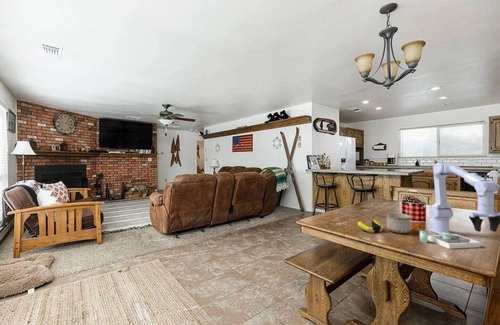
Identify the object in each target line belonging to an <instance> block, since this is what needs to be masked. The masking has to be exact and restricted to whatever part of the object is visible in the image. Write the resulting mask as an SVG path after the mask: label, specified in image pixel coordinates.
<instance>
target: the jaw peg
mask: <svg viewBox="0 0 500 325" xmlns="http://www.w3.org/2000/svg"><path fill="white" fill-rule="evenodd" d="M428 235H429V230H424V229H419V242H421V243H422V244H423V243H425V244H427V243H428V242H429V240H428Z"/></svg>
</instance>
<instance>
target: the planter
mask: <svg viewBox="0 0 500 325" xmlns="http://www.w3.org/2000/svg"><path fill="white" fill-rule="evenodd" d="M386 230H388V231H390V232H393V233H397V234H409V233H411V216H410V215H408V214H405V213H401V212H400V213H399V212H398V213H397V212H389V213H387V214H386Z"/></svg>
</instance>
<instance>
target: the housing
mask: <svg viewBox="0 0 500 325" xmlns="http://www.w3.org/2000/svg"><path fill="white" fill-rule="evenodd" d="M451 233H452V232H450V233H446V232H442V234H443V235H440V234H428V242H429V241H430V242H432V243H434V244H437V245H439V246H442V247H444V248H446V249H449V250H451V249H453V250H454V249H469V248H472V249H473V248H481V246H482V245H481V241H477V240H475V239H472V238H469V237H466V236H463V235H460V234H456V233H453V234H451Z"/></svg>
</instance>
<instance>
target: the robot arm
mask: <svg viewBox="0 0 500 325" xmlns="http://www.w3.org/2000/svg"><path fill="white" fill-rule="evenodd" d="M432 171H433V181H434V182H433V183H434V196H435V198H434V199H435V202H434V204H432V205H431V209H430V215H431V217H430V218H429V229H427V231H430V232H433V233H436V234H437V235H443V234H442V232H446V233H451V234H454V233H453V232H450V220H451V218H452V217H453V216H454V211H453V210H452V209H453V208H452V206H451V205H450V204H448V202H447V201H448V198H447V187H446V185H447V184H446V178H447V177H448V176H451V175H452V174H453V175H454V174H455V175H456V176H459V177H461V178H463V180H464V182H465V183H467V184H469V185H470V186H472V187H474V189H475V191H476V195H477V211H475V212H474V211H472V212H469V213H468V218H469V220H470V221H471V222H472V225H473V228H474V231H476V232H479V233H480V232H481V231H482V224H483V221H484V219H483V218H487V219H488V223H489V230H490V231H492V232H494V233H495V232H497V230H498V227H499V225H500V212H497V211H496V212H495V192H497V191H498V190H499V186H498V183H497V182H496V181H494V180H487V179H486V178H485V177H482V176H480V175H478V174H479V173H476V172H470V173H469V172H468V171H466V169H463V168H462V167H460V165H459V164H457V163H456V162H436V163H435V164H434V165H433V166H432Z"/></svg>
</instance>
